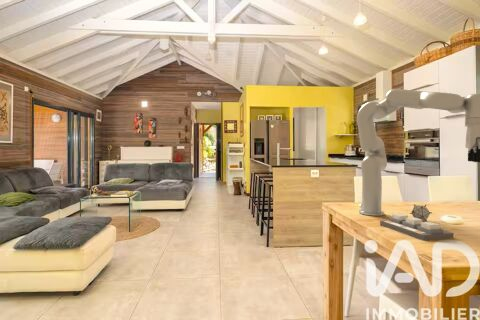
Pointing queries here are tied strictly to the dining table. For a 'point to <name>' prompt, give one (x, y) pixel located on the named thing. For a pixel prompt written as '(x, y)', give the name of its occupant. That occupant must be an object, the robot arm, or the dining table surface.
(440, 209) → the dining table surface
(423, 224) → the button
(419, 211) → the game die
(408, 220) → the middle button
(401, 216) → the button
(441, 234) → the button board
